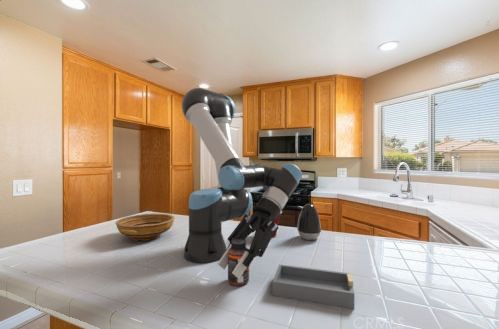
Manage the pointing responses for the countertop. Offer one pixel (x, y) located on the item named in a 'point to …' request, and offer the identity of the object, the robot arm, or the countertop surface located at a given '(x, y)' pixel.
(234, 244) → the supplement bottle
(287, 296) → the trough
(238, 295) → the countertop surface
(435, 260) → the countertop surface
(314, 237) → the pump dispenser
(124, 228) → the brown woven oval bowl
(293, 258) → the countertop surface
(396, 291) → the countertop surface
